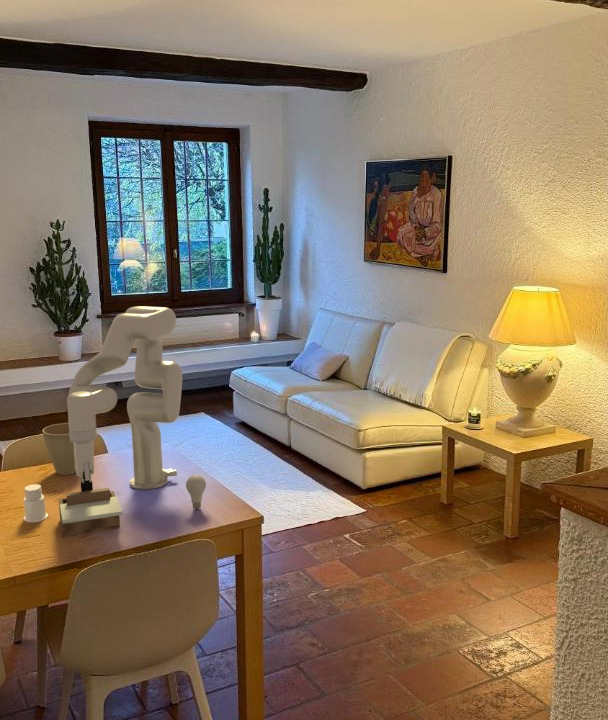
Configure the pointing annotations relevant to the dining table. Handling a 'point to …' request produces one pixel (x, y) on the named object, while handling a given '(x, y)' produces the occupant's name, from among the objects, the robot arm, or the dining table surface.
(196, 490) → the lightbulb
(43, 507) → the downlight
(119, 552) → the dining table surface
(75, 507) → the toolbox lid
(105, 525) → the toolbox
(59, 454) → the plant pot
